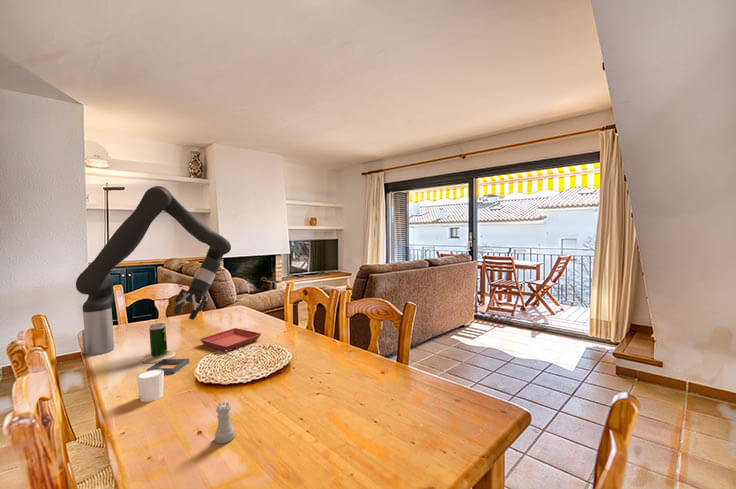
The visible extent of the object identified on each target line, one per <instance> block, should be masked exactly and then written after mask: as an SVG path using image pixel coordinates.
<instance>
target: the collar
mask: <svg viewBox="0 0 736 489" xmlns="http://www.w3.org/2000/svg"><path fill="white" fill-rule="evenodd" d="M188 364H190V358H172V359H163V360H161V361H160V362H158V363H154V364H152V365H151V366H150V367H149V368H146V371H149V370H155V369H161V370H163V371H164V375H165V374H166V375H167V374H173V375H174V374H175V373H177V372H178V371H180V370H181V369H183V368H184V367H185V366H186V365H188ZM165 365H175V366H173V367H170V368H169V367H163V368H162V366H165Z"/></svg>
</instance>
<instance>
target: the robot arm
mask: <svg viewBox="0 0 736 489" xmlns="http://www.w3.org/2000/svg"><path fill="white" fill-rule="evenodd" d="M162 212H165V213H166V214H168V215H170V217H172V218H173V219H174V220H175V221H176V222H178V224H180V225H181V227H182V228H183V229H184V230H185V231H186V232H187V233H189V234H190V235H191V236H192V237H194V238H195V239H196V240H198V242H201V243H203V244H206V245H207V246H209V248H208V250H207V252H206V255H205V257H204V260H203V261H202V263H201V265H200V267H199V269H198V270H197V271H196V273H195V274H194V276H193V278H192V280H191V282H190V284H189V285H188V288H189V289H188V290H186V289H184V288H182V289H180V292H179V293H178V295H177V296H176V298H175V300H174V302H175V303H176V306H175V308H174V310H173V314H175V315H180V312H181V310H182V309H183V307H184V305H186V304H192V305H193V309H192V311H191V312H190V314H189V317H188V319H190V320H192V321H193V320H195V319H196V317H197V315H198V314H199V312H204V311H205V310H206V307H207V306H208V302H209V301H210V297H208V296H207V295H206V294H207V293H208V291H209V289H210V287H211V285H212V283H213V282H214V279H215V277H216V275H217V273H218V272H219V270H220V267H221V261H222V259H223V257H224V255H227V254H229V253H230V251H231V250H232V245H231V243H230V241H229V240H228V239H227V238H225V237H224V236H222V235H221V234H219V233H218V232H216V231H214V230H212V229H211V228H210V227H209V226H208V225H207V224H205V223H204V222H203V221H202V220H200V218H198V217H197V216H195V215H194V214H193V213H192V212H190V210H188V209H187V208H185V206H183V204H182V203H180V202H179V201H178V200H177V198H175V196H174V195H173V194H172V193H171V192H170V190H169V189H167V188H166V187H164V186H161V185H154V186H152V187H150V188H148V189H146V191H145V192H144V194H143V196H142V198H141V199H140V201H139V203H138V204H137V207H135V209H134V210H133V212H132V213H131V214H130V215H129V216H128V217H127V218H126V219H125V220H124V222H123V223H121V224H120V225H119V227H118V228H117V229H116V230H115V231H114V233H113V234H112V235H111V237H110V238H109V239H108V241H107V242H106V243H105V245H104V247H103V248H102V249H100V252H99V253H98V254H97V255H96V257H95V258H94V259H93V260H92V262H91V263H90V264H89V265H88V266H87V267H86V268H85V269H84V270H83V271H81V273H80V274H79V275H78V277H77V278H76V281H75V288H76V290H77V292H78V293H79V294H82V295H86V296H87V299H86V300H85V302H84V303H83V304H82V318H83V329H82V331H81V336H82V337H81V338H82V352H83V354H84V355H87V356H95V354H97V355H102V354H106V353H109V352H111V351H113V350H115V339H114V324H113V314H112V312H113V310H112V304H113V300H114V283H113V277H112V275H111V271H112V270H113V269H114V268H115V267H117V266H118V265H119V264H120V263H121V262H123V261H124V260H125V259H127V258H128V257H129V256H130V255H131V254H133V252H134V251H135V250H136V249H137V247H138V246H139V245H140V243H141V242H142V240H143V239H144V238H145V235H146V233H147V232H148V230H149V228H150V226H151V225H152V223H153V222H154V221H155V219H156V218H157V217H158V216H159V215H160V214H161V213H162Z"/></svg>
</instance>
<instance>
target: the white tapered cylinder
mask: <svg viewBox="0 0 736 489" xmlns="http://www.w3.org/2000/svg"><path fill="white" fill-rule="evenodd" d="M164 375H165V374H164V371H163V370H161V369H155V370H149V371H147V370H146V371H143V372H141V373H139V374H137V375H136V377H135V378H136V382H137V383H136V385H137V388H138V394H139V399H140V402H142V403H148V402H154V401H156V400H159V399H161V397H163V396H164V381H165V380H164V378H165V377H164Z"/></svg>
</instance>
